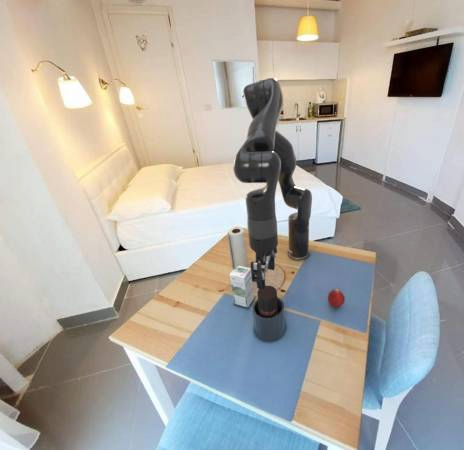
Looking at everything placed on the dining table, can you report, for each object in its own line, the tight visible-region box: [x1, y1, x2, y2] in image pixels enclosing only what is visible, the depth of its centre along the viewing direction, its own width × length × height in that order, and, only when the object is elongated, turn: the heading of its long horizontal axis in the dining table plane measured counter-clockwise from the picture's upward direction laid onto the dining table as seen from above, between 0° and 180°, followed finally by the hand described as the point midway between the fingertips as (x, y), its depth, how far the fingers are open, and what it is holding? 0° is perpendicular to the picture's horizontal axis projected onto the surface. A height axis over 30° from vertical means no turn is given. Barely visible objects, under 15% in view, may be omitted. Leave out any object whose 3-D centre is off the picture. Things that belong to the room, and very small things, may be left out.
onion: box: [327, 288, 346, 308], centre depth 88 cm, size 6×6×8 cm
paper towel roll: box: [227, 226, 249, 271], centre depth 102 cm, size 7×6×21 cm
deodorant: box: [256, 285, 278, 318], centre depth 79 cm, size 6×6×15 cm
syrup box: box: [229, 265, 255, 308], centre depth 90 cm, size 6×6×14 cm
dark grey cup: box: [251, 296, 286, 342], centre depth 80 cm, size 10×10×10 cm
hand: (266, 278), depth 72 cm, fingers open, 8 cm apart
